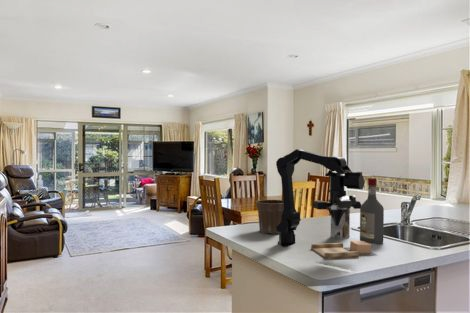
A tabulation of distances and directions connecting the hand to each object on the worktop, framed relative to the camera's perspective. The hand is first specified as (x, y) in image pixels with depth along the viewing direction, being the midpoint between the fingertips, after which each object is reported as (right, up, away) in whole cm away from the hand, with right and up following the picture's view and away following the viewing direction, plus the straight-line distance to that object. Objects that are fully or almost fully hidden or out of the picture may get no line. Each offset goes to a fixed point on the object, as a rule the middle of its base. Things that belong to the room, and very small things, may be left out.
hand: (336, 225), depth 143 cm
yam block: (+10, -11, +2) cm, 15 cm away
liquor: (+23, -12, +21) cm, 33 cm away
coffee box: (+10, -12, +29) cm, 33 cm away
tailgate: (+10, -12, +2) cm, 16 cm away
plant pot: (-23, -12, +42) cm, 49 cm away
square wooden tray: (-2, -12, 0) cm, 12 cm away
